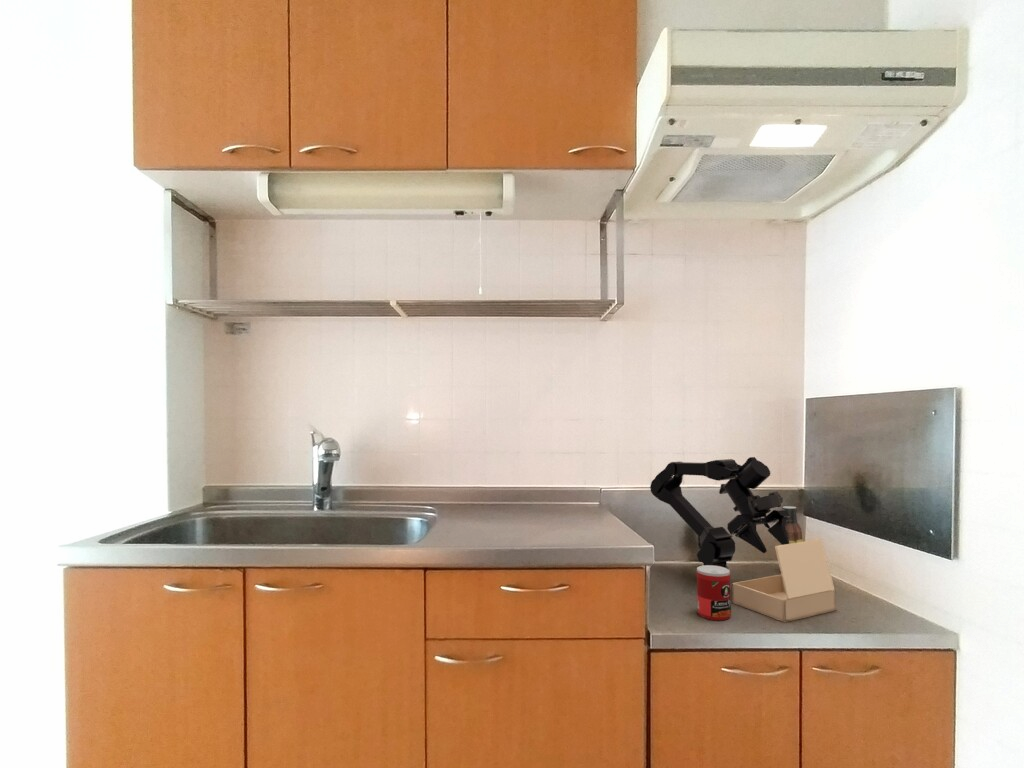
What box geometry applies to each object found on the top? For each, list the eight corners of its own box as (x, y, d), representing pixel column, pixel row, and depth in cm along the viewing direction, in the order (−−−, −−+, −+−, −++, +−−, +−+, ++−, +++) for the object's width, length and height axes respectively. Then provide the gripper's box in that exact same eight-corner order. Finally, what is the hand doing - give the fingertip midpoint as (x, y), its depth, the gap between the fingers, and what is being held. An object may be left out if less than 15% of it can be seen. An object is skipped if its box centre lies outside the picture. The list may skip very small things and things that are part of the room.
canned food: (715, 623, 140) (714, 575, 140) (690, 613, 147) (689, 567, 147) (738, 617, 143) (737, 571, 144) (713, 607, 150) (712, 563, 151)
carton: (732, 602, 154) (731, 583, 154) (781, 592, 162) (781, 574, 162) (784, 622, 140) (783, 600, 140) (836, 610, 147) (835, 589, 148)
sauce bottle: (800, 570, 184) (798, 505, 185) (808, 576, 178) (806, 508, 179) (778, 570, 185) (776, 505, 185) (785, 575, 178) (783, 508, 179)
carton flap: (774, 546, 144) (776, 545, 143) (819, 539, 151) (821, 539, 150) (786, 598, 140) (788, 598, 140) (832, 589, 147) (834, 589, 147)
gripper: (738, 484, 154) (773, 538, 144) (785, 479, 163) (821, 529, 154) (712, 507, 161) (745, 560, 151) (759, 502, 170) (792, 551, 161)
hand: (777, 550), depth 154 cm, fingers open, 9 cm apart
